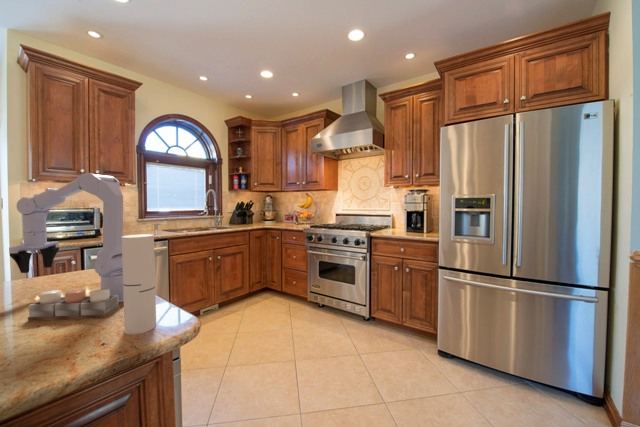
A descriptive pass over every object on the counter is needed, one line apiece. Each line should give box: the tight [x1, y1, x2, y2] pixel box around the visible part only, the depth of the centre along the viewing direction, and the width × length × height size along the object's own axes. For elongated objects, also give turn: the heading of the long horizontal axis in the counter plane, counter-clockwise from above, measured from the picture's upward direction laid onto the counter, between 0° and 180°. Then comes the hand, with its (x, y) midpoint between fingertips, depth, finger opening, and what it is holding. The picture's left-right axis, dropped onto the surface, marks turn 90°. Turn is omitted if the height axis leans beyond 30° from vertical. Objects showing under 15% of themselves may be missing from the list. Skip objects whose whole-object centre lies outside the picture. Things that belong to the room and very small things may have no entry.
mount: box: [27, 295, 120, 322], centre depth 82 cm, size 21×7×4 cm, turn 94°
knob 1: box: [39, 289, 62, 304], centre depth 82 cm, size 5×5×4 cm
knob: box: [89, 288, 110, 303], centre depth 83 cm, size 5×5×4 cm
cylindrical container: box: [122, 233, 157, 335], centre depth 73 cm, size 7×7×25 cm
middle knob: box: [64, 289, 87, 303], centre depth 82 cm, size 5×5×4 cm
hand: (36, 270), depth 97 cm, fingers open, 7 cm apart
